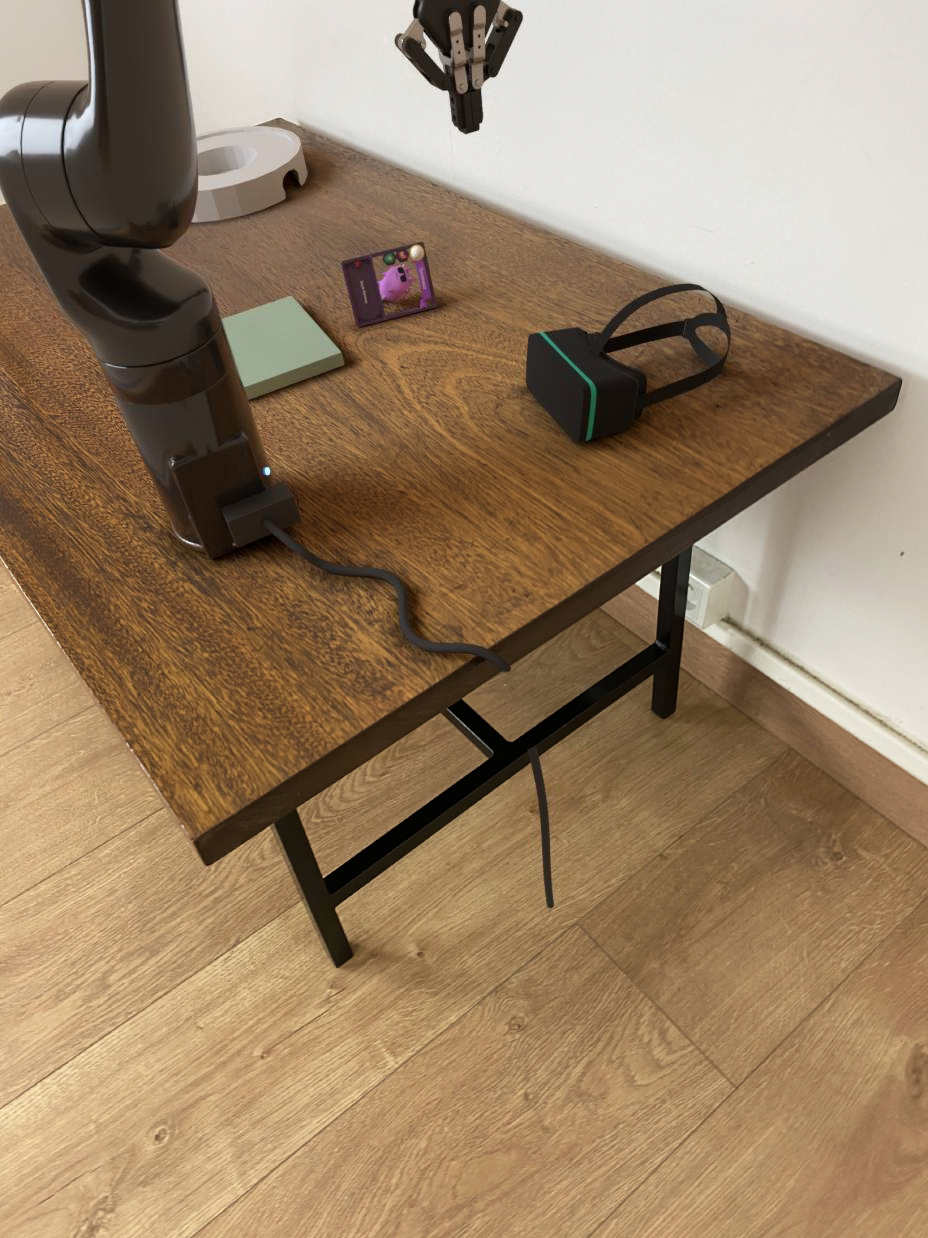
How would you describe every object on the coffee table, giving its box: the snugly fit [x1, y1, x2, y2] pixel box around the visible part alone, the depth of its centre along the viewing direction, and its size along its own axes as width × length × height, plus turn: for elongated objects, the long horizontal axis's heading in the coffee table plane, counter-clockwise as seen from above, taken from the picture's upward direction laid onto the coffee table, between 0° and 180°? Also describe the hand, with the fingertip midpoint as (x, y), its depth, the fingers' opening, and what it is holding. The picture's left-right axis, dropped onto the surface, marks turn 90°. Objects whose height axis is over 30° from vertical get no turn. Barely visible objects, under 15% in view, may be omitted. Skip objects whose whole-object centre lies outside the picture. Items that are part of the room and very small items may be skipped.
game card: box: [340, 241, 438, 328], centre depth 97 cm, size 7×5×9 cm
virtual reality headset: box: [525, 282, 732, 444], centre depth 80 cm, size 11×17×10 cm, turn 112°
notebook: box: [222, 295, 345, 401], centre depth 95 cm, size 15×11×2 cm
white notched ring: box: [191, 125, 309, 223], centre depth 127 cm, size 23×23×4 cm
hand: (468, 130), depth 90 cm, fingers closed
